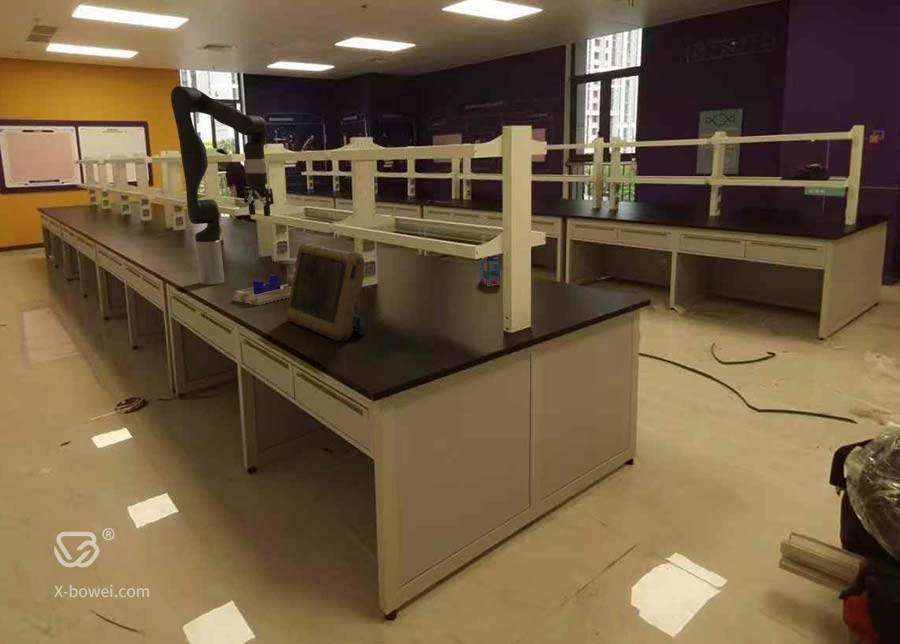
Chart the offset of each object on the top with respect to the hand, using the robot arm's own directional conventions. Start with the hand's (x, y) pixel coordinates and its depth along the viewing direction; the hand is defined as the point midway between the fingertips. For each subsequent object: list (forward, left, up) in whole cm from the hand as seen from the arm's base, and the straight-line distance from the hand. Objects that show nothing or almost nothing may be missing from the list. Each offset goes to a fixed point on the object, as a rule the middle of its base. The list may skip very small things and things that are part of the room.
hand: (259, 215), depth 245 cm
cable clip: (+14, -12, -27) cm, 32 cm away
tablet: (+61, -27, -28) cm, 72 cm away
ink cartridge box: (+69, +54, -28) cm, 92 cm away
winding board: (+14, -7, -28) cm, 32 cm away
